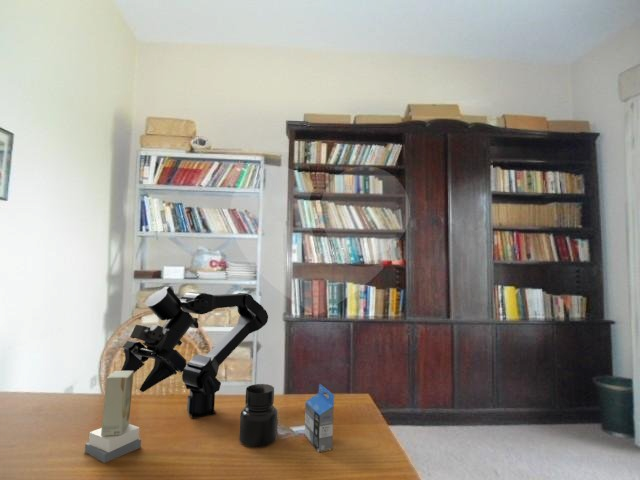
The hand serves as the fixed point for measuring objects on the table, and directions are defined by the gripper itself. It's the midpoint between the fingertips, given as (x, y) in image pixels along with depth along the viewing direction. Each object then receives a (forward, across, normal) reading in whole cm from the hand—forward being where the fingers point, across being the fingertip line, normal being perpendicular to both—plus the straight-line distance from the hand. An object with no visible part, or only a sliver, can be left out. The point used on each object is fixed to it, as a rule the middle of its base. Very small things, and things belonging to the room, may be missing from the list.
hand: (129, 387), depth 84 cm
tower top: (+10, 0, +6) cm, 11 cm away
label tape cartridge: (-9, +36, +28) cm, 46 cm away
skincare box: (+8, 0, +4) cm, 9 cm away
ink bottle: (-4, +23, +23) cm, 33 cm away
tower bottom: (+12, 0, +7) cm, 14 cm away
